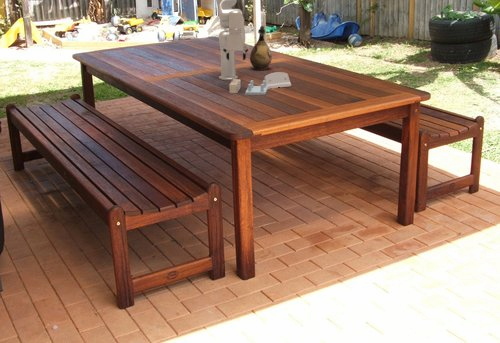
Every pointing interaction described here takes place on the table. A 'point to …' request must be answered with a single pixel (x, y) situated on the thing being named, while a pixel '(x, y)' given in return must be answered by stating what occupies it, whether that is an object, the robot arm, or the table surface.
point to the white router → (277, 80)
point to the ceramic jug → (260, 53)
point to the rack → (256, 89)
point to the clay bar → (235, 85)
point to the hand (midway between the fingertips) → (236, 59)
